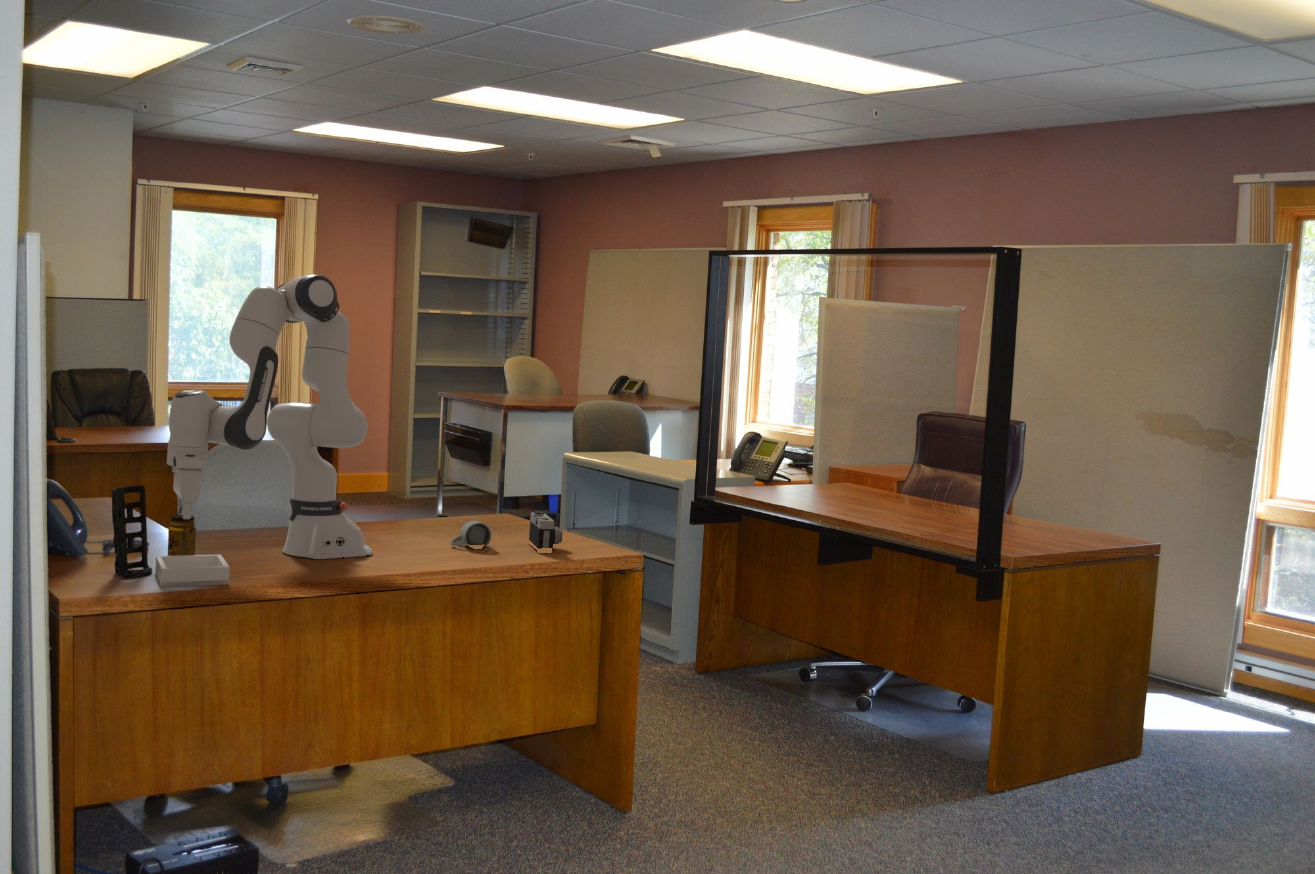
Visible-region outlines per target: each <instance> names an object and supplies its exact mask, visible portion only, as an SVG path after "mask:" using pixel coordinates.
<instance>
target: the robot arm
mask: <svg viewBox="0 0 1315 874" xmlns="http://www.w3.org/2000/svg"><path fill="white" fill-rule="evenodd" d="M339 310H340V304H339V301H338V294H337V289H336V287H335V285H334V283H333V281H331V280H330V279H329V278H328V277H326V276H325V275H320V274H315V273H314V274H313V273H311V274H307V275H303V276H299V277H295V278H293V279H291V280H290V281H288V282H285V283H283V284H281V285H278V286H277V287H276V288H274V287H271V286H265V285H261V286H258V287H257V286H256V287H255V288H253V289H252V290H251V291H250V292H249V294H248V295H247V297H246V298H245V300H244V302H243V303H242V305H241V307H240V309H239V311H238V313H237V315H236V317H235V320H234V322H233V325H232V327H231V331H230V333H229V334H230V335H229V346H230V349H231V350H232V352H233V353H234V354H235V356H236V357H237V358H239V359H240V360H241V361H243V362H244V363H245V364H246V365H247V366H248V368H249V377H248V378H249V379H248V382H247V385H246V390H245V394H244V398H243V401H242V403H240V404H239V405H237V406H236V405H235V406H234V405H233V406H232V405H227V404H223V403H221V402H220V401H217V400H215V399H214V398H212V397H211V396H210V395H209V393H208V392H207V391H206V390H203V389H187V390H186V389H185V390H182V391H178V392H177V393H175V394H174V396H173V397H172V400H171V404H170V408H169V409H170V410H169V416H168V417H169V419H168V429H169V432H170V433H169V439H168V442H167V451H166V452H167V453H166V454H167V455H166V465H168V466H171V467H172V469H171V471H172V473H173V487H172V489H173V493H174V492H175V494H176V496H177V497H176V499H177V513H179V514H181V515H182V517H183V519H190V518H191V516H192V510H193V506H194V503H195V502H198V500H199V498H200V492H201V485H202V479H203V470H206V467H207V465H208V451H209V444H208V443H211V444H218V445H223V446H229V447H230V446H231V447H233V448H237V449H241V450H245V451H246V450H247V451H248V450H251V449H254V448H256V447H257V446H258V445H260V443H261V442H262V441H263V439H264V438H265V435H266V432H267V430H268V433H269V435H270V437H271V438H272V439H273V440H274V441H276V442H277V443H278V444H279V446H281V448H282V449H283V451H284V452H285V453H286V455H287V458H288V461H289V463H290V467H291V484H292V485H291V497H290V499H289V503H288V519H289V522H288V523H289V524H288V530H287V535H286V540H285V543H284V546H283V548H282V553H284V554H286V555H289V556H293V557H301V558H302V557H303V558H309V559H313V560H328V559H340V558H341V559H342V557H344V558H356V557H357V556H358V557H367V556H366V555H370V556H371V555H372V554H373V549H372V548H371V546H369V545H367V544H365V541H364V534H363V532H362V529H361V528H360V527H359V526H358V525H357V524H356V523H355V522H354V521H353V520H351V519H350V518H349V517H348V516H347V515H346V514H345V515H344V513H343V512H345V511H347V510H348V509H349V505H348V503H346V502H345V501H341V500H339V499H337V486H338V485H337V484H338V483H337V482H338V472H337V469H336V468H335V467H334V465H333V464H331V463H330V462H329V461H327V460H326V459H324V458H322V456H321V455H320V453H319V452H318V447H322V448H333V449H344V448H345V449H346V448H353V447H358V446H359V445H360V444H362V443H363V441H364V440H365V439H366V436H367V434H368V431H369V430H368V429H369V424H368V420H367V418H366V415H365V413H364V412H363V411H362V410H361V409H359V407H358V406H356V404H355V403H354V401H353V400H352V398H351V396H350V392H349V390H348V383H347V380H348V378H347V377H348V366H349V365H348V363H349V356H350V347H351V345H350V344H351V343H350V342H351V339H350V338H351V334H350V333H351V331H350V322H349V319H348V318H347V316H346V315H344V314H343V313H341V312H340V311H339ZM302 322H303V324H304V325H305V330H306V336H307V338H306V342H305V348H304V356H303V363H302V370H301V371H302V372H301V377H302V380H303V382H304V383H305V384H306V385H307V386H308V387H309V388H311V389H312V390H313V391H315V392H317V393H319V395H320V403H311V402H310V403H309V402H296V401H293V402H292V401H291V402H285V403H278V404H276V405H274V406H273V407H272V408H271V410H270V411H269V407H270V404H271V403H270V402H271V400H272V399H271V398H272V396H273V390H274V387H275V382H276V378H277V373H278V370H279V369H278V367H279V357H278V353H277V345H278V341H279V338H280V334H281V333H282V329H283V326H284V325H285V323H290V324H296V323H297V324H298V323H302ZM268 412H269V413H268ZM358 557H357V558H358Z"/></svg>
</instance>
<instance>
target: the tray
mask: <svg viewBox="0 0 1315 874" xmlns="http://www.w3.org/2000/svg"><path fill="white" fill-rule="evenodd" d="M230 570H231V569H230V565H229V564H228V562H227V561H226V560H225V558H224V557H223V555H222V554H195V555H178V556H168V555H156V556H155V575H156V577H157V580H158V583H159V584H160V587H161V588H163V587H165V588H168V587H190V586H191V587H193V586H195V587H196V586H222V585H223V586H225V585H229V583H230Z"/></svg>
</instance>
